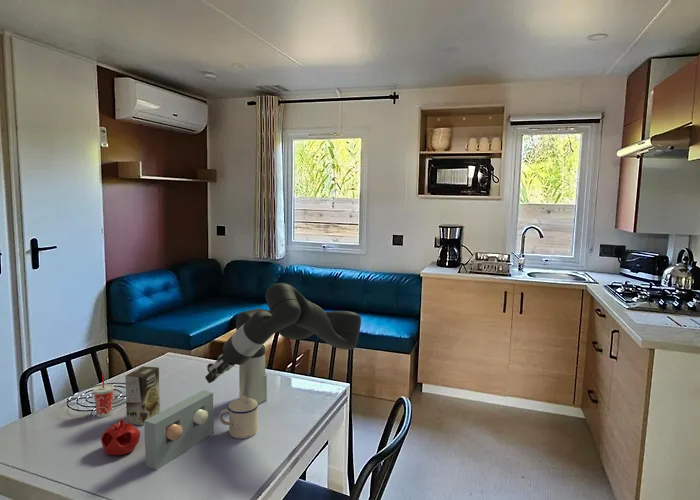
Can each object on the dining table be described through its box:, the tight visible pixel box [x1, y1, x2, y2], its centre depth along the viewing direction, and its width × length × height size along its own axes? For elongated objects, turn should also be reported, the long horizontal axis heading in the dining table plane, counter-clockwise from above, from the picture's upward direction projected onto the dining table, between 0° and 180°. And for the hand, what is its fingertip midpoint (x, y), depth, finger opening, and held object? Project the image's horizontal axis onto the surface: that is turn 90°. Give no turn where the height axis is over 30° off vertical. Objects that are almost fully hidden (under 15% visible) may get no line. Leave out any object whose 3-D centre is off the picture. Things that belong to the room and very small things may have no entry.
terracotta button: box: [166, 423, 183, 441], centre depth 126 cm, size 7×4×4 cm, turn 65°
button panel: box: [143, 389, 215, 471], centre depth 131 cm, size 4×22×13 cm, turn 155°
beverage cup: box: [92, 373, 115, 418], centre depth 150 cm, size 6×6×14 cm
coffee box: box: [125, 365, 161, 426], centre depth 148 cm, size 9×6×16 cm
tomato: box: [100, 418, 141, 456], centre depth 130 cm, size 10×10×9 cm
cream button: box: [193, 409, 208, 425], centre depth 135 cm, size 7×4×4 cm, turn 65°
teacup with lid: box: [218, 395, 259, 439], centre depth 141 cm, size 12×9×12 cm
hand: (208, 379), depth 122 cm, fingers closed
